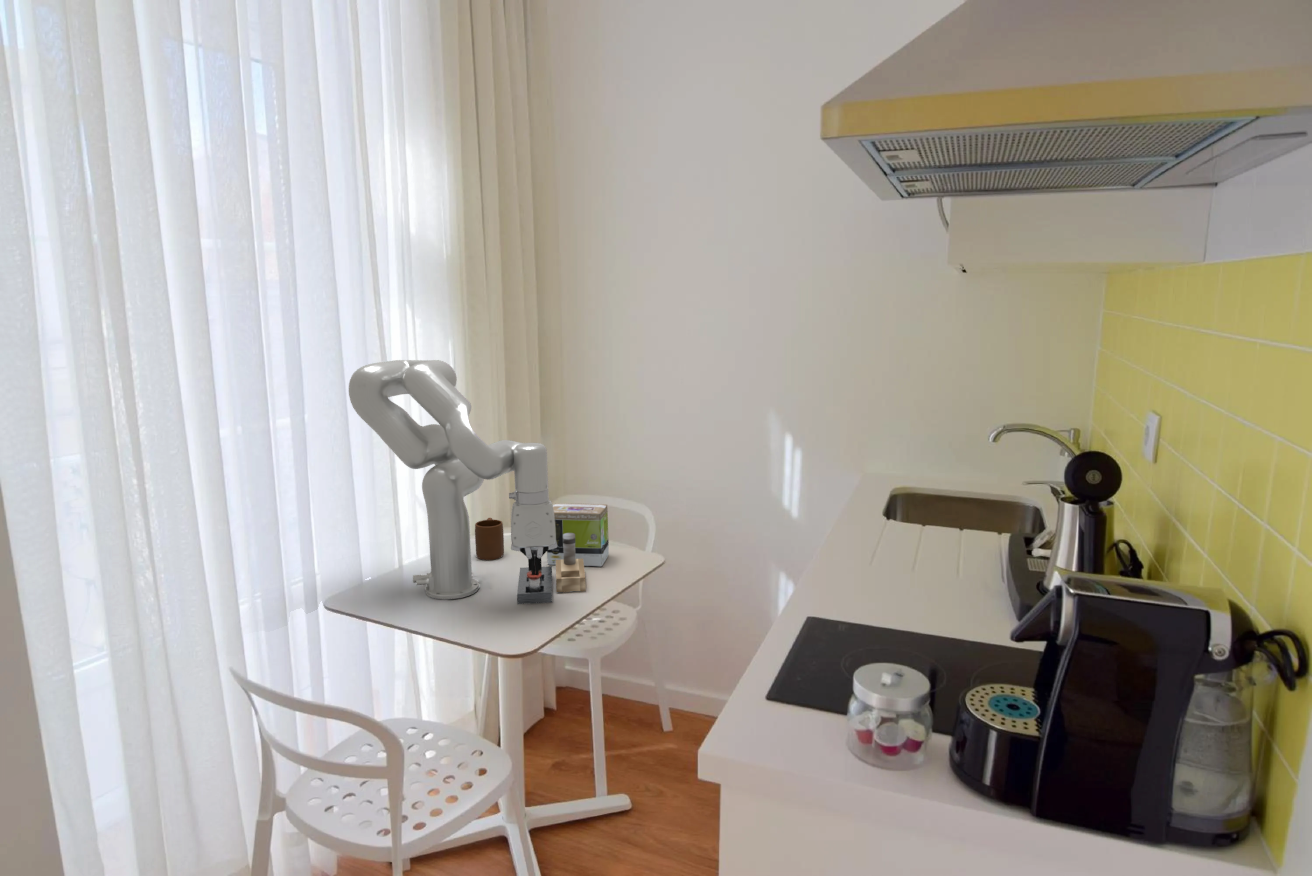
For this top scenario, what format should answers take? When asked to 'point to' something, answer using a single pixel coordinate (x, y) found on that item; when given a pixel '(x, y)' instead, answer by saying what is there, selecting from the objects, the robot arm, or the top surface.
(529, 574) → the red topped peg
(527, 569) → the socket block
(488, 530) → the mug
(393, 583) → the top surface
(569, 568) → the rack
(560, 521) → the tea box
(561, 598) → the top surface
